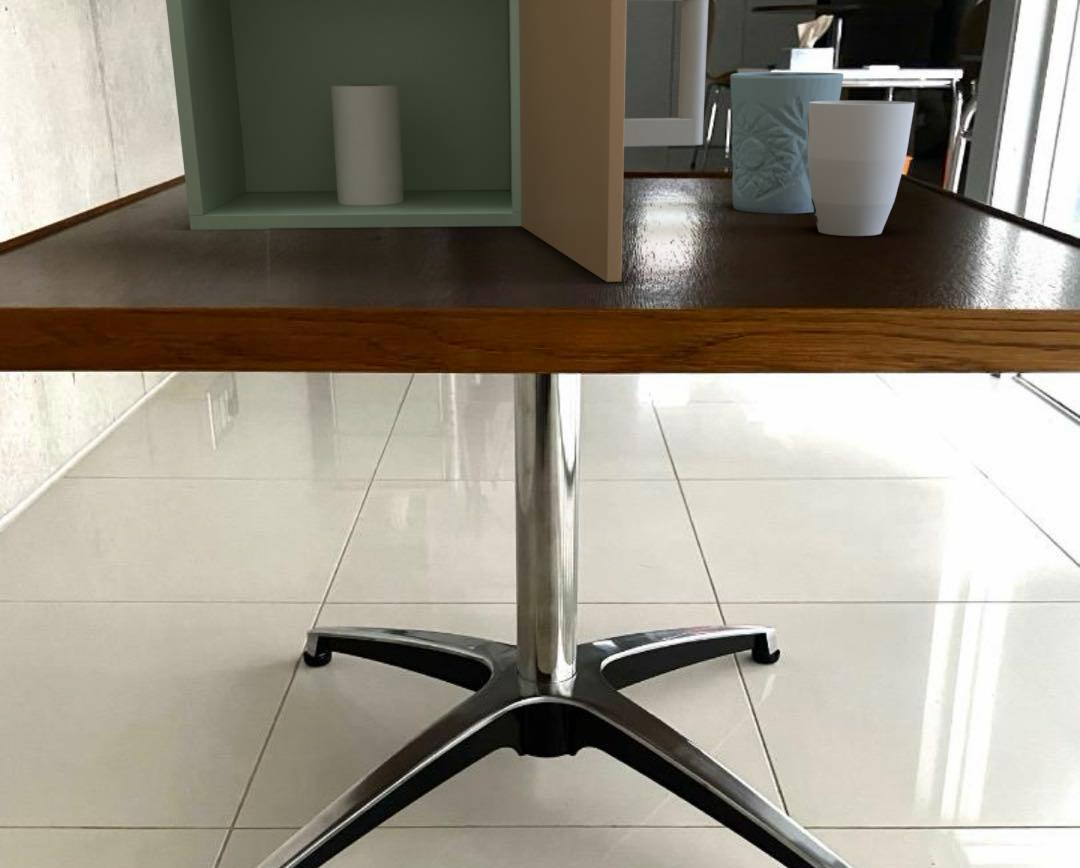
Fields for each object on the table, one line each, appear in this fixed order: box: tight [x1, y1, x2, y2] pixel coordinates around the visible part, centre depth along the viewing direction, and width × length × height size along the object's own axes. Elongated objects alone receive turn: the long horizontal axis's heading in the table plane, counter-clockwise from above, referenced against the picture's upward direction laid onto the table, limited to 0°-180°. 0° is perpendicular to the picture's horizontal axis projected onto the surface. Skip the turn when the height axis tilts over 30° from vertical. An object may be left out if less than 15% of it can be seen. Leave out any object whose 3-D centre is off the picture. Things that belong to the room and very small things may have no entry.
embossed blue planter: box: [729, 71, 844, 214], centre depth 113 cm, size 10×10×12 cm
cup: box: [808, 100, 916, 237], centre depth 98 cm, size 8×8×10 cm
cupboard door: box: [519, 0, 710, 283], centre depth 86 cm, size 7×28×26 cm, turn 12°
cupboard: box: [165, 0, 522, 231], centre depth 108 cm, size 20×28×26 cm
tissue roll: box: [331, 85, 404, 206], centre depth 110 cm, size 6×6×10 cm
